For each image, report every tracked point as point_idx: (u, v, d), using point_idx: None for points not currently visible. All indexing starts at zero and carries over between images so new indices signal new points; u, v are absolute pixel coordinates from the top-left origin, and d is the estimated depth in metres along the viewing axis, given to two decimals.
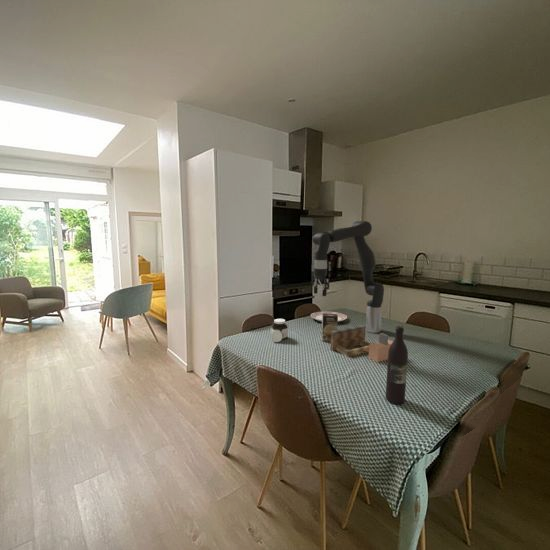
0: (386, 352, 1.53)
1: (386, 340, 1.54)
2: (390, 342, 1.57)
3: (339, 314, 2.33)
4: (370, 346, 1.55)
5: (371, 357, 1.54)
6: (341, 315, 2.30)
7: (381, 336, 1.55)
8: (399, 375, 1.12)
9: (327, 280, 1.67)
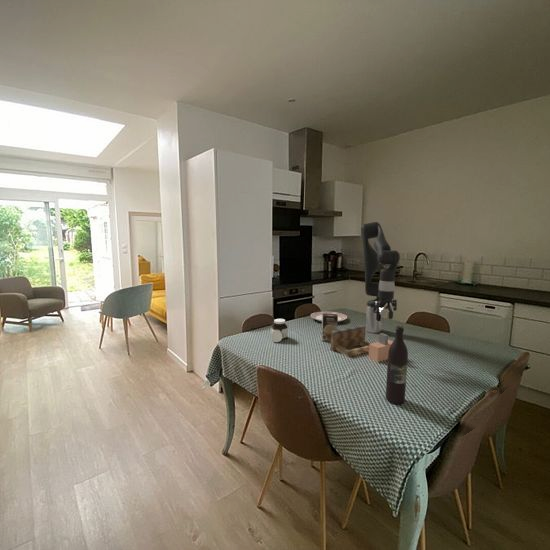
0: (386, 352, 1.53)
1: (386, 340, 1.54)
2: (390, 342, 1.57)
3: (339, 314, 2.33)
4: (370, 346, 1.55)
5: (371, 357, 1.54)
6: (341, 315, 2.30)
7: (381, 336, 1.55)
8: (399, 375, 1.12)
9: None
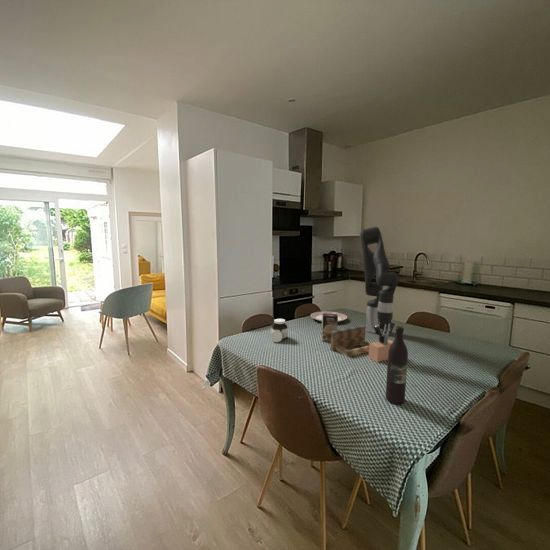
0: (386, 352, 1.53)
1: (386, 340, 1.54)
2: (390, 342, 1.57)
3: (339, 314, 2.33)
4: (370, 346, 1.55)
5: (371, 357, 1.54)
6: (341, 315, 2.30)
7: None
8: (399, 375, 1.12)
9: None
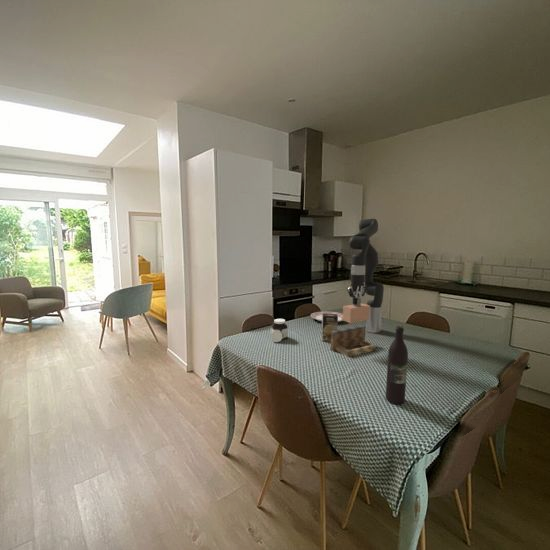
0: (358, 313, 1.61)
1: (359, 302, 1.61)
2: (363, 305, 1.65)
3: (339, 314, 2.33)
4: (344, 308, 1.62)
5: (345, 318, 1.62)
6: (341, 315, 2.30)
7: None
8: (399, 375, 1.12)
9: None
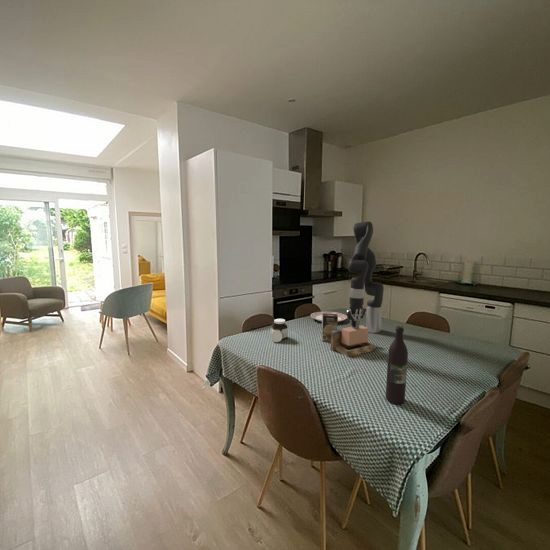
0: (357, 336, 1.63)
1: (357, 325, 1.63)
2: (362, 327, 1.67)
3: (339, 314, 2.33)
4: (342, 330, 1.64)
5: (343, 341, 1.64)
6: (341, 315, 2.30)
7: None
8: (399, 375, 1.12)
9: None
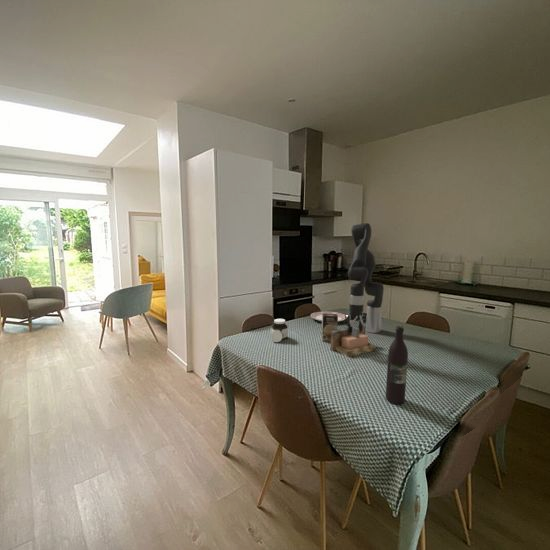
0: (357, 344, 1.64)
1: (357, 333, 1.64)
2: (362, 335, 1.68)
3: (339, 314, 2.33)
4: (342, 339, 1.65)
5: None
6: (341, 315, 2.30)
7: (353, 329, 1.66)
8: (399, 375, 1.12)
9: None
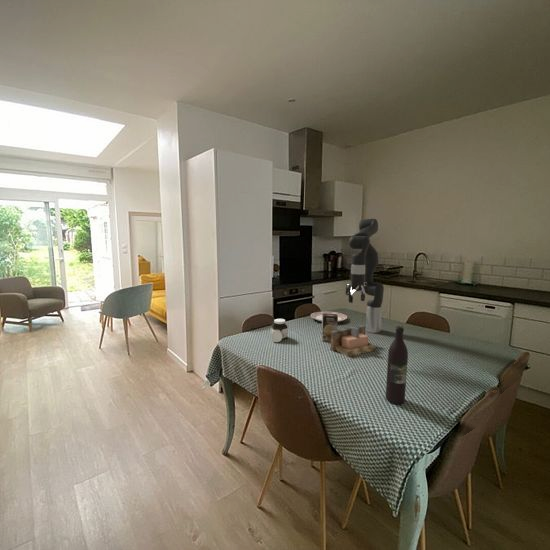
0: (357, 344, 1.64)
1: (357, 333, 1.64)
2: (362, 335, 1.68)
3: (339, 314, 2.33)
4: (342, 339, 1.65)
5: None
6: (341, 315, 2.30)
7: (353, 329, 1.66)
8: (399, 375, 1.12)
9: None
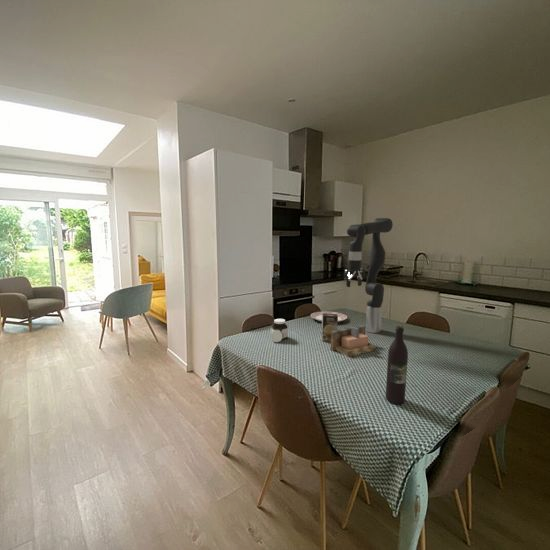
0: (357, 344, 1.64)
1: (357, 333, 1.64)
2: (362, 335, 1.68)
3: (339, 314, 2.33)
4: (342, 339, 1.65)
5: None
6: (341, 315, 2.30)
7: (353, 329, 1.66)
8: (399, 375, 1.12)
9: None
